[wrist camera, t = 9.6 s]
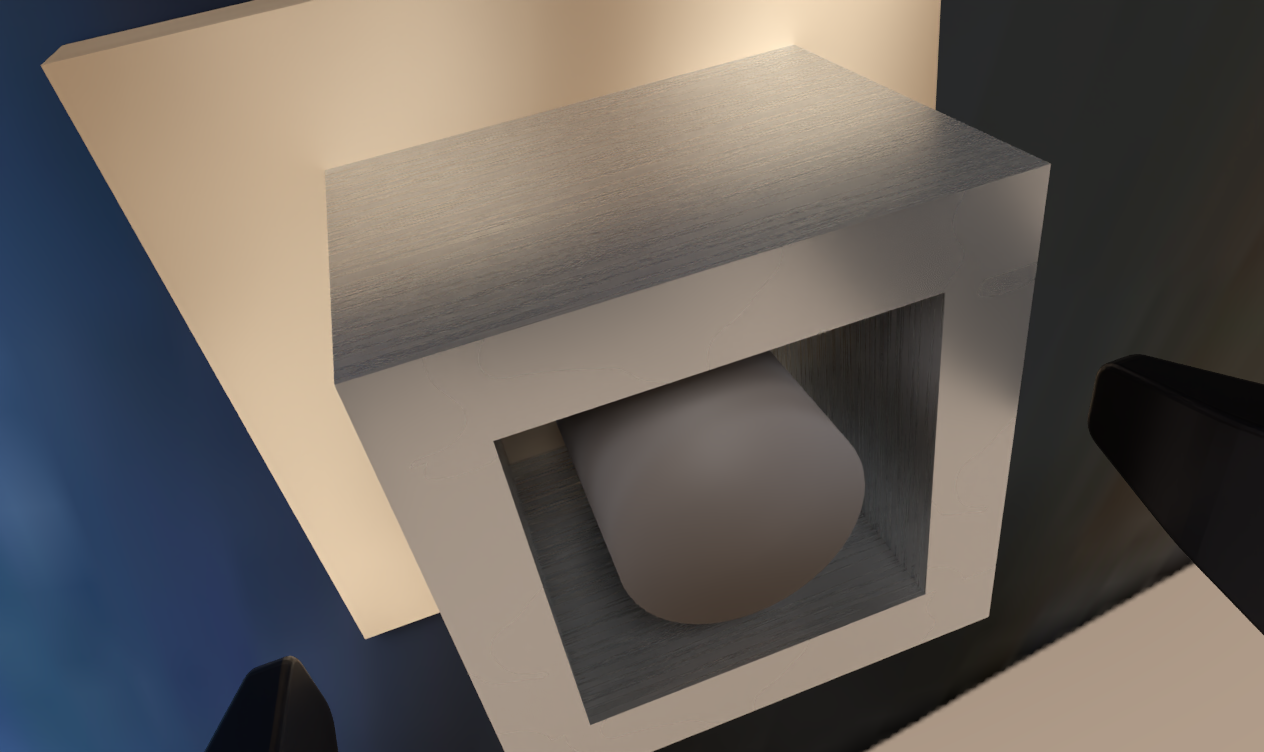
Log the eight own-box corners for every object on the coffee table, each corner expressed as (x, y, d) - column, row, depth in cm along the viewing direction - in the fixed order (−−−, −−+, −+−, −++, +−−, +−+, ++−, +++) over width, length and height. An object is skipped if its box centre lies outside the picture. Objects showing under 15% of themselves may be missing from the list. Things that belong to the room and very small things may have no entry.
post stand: (903, -153, 12) (1324, -132, 7) (891, 411, 17) (1111, 635, 13) (62, 45, 10) (-172, 260, 5) (362, 597, 16) (386, 938, 11)
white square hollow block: (793, 44, 11) (1050, 163, 8) (811, 408, 15) (989, 616, 11) (324, 170, 10) (334, 385, 6) (466, 526, 14) (528, 801, 10)
